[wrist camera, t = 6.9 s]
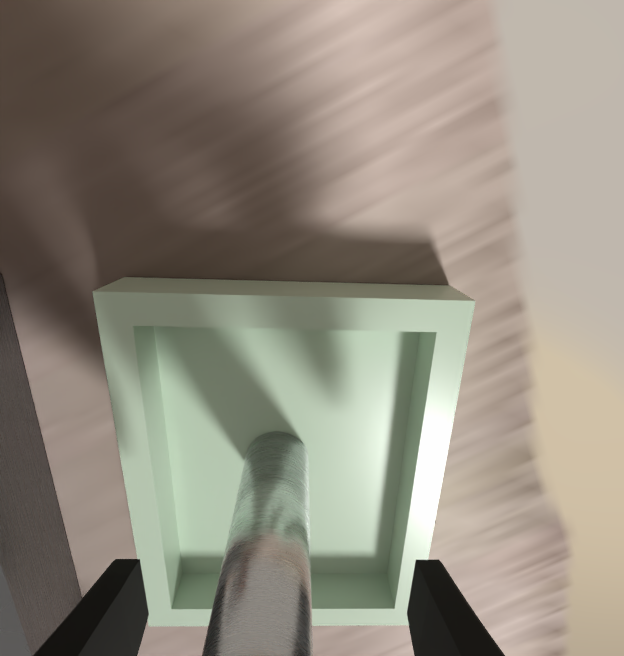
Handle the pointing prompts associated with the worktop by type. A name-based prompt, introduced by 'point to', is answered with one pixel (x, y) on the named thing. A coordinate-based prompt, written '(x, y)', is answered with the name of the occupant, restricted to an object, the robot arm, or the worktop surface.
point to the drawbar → (27, 515)
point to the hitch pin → (266, 557)
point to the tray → (283, 426)
